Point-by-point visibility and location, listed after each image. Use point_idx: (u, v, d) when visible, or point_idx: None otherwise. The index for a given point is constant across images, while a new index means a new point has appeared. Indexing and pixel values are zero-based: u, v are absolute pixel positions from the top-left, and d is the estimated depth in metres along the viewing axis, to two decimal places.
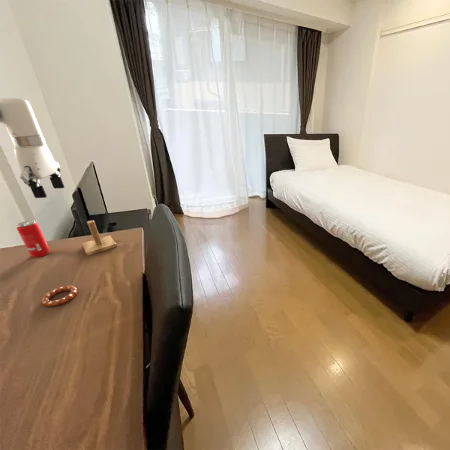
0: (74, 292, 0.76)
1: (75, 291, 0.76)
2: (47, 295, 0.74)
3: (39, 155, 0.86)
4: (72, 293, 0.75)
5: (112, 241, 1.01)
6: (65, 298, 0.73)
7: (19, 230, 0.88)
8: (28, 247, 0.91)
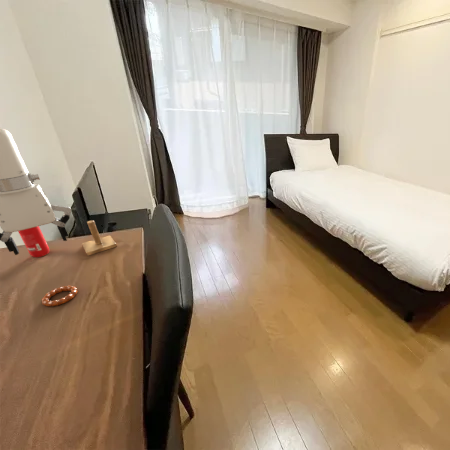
0: (74, 292, 0.76)
1: (75, 291, 0.76)
2: (47, 295, 0.74)
3: (10, 204, 0.63)
4: (72, 293, 0.75)
5: (112, 241, 1.01)
6: (65, 298, 0.73)
7: None
8: (28, 247, 0.91)
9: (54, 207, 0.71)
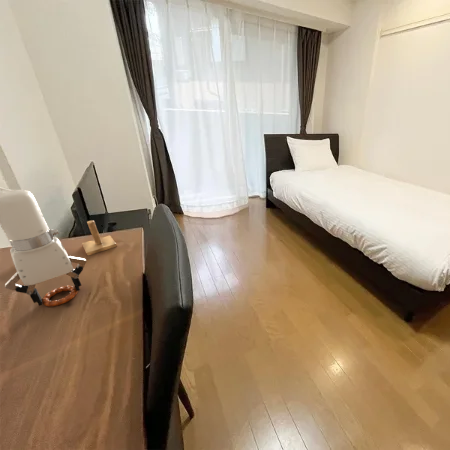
0: (74, 292, 0.76)
1: (75, 291, 0.76)
2: (47, 295, 0.74)
3: (31, 260, 0.66)
4: (72, 293, 0.75)
5: (112, 241, 1.01)
6: (65, 298, 0.73)
7: None
8: None
9: (71, 259, 0.74)
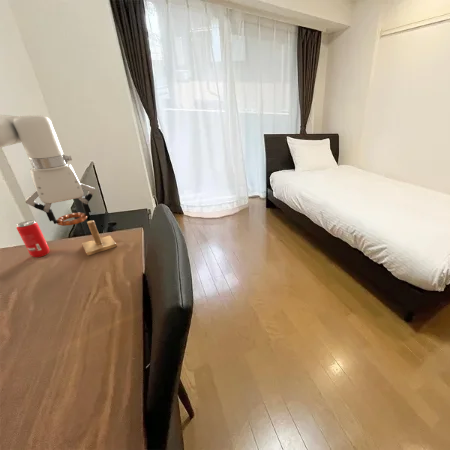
0: (84, 216, 0.85)
1: (85, 216, 0.86)
2: (61, 217, 0.84)
3: (48, 179, 0.76)
4: (82, 217, 0.85)
5: (112, 241, 1.01)
6: (76, 219, 0.83)
7: (19, 230, 0.88)
8: (28, 247, 0.91)
9: (82, 185, 0.83)
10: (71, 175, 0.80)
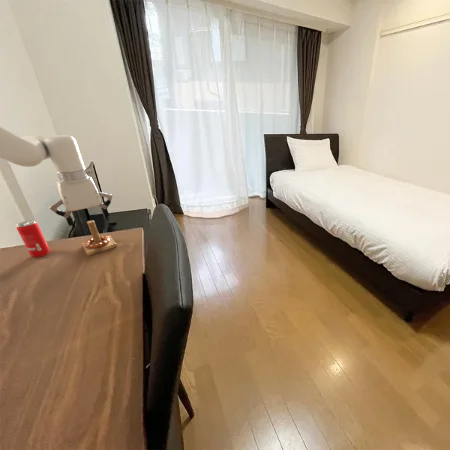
0: (108, 239, 1.00)
1: (108, 239, 1.00)
2: (88, 241, 0.98)
3: (72, 190, 0.87)
4: (106, 240, 0.99)
5: (112, 241, 1.01)
6: (102, 243, 0.97)
7: (19, 230, 0.88)
8: (28, 247, 0.91)
9: (100, 194, 0.95)
10: (92, 186, 0.91)
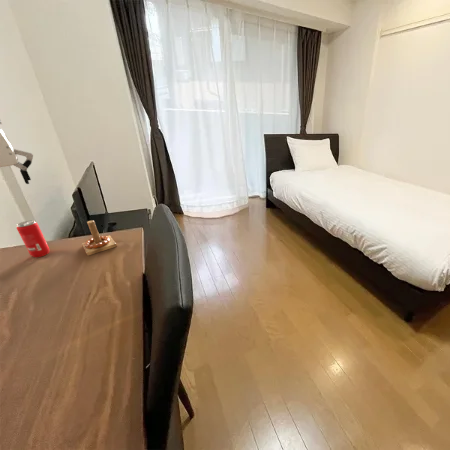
0: (108, 239, 1.00)
1: (108, 239, 1.00)
2: (88, 241, 0.98)
3: None
4: (106, 240, 0.99)
5: (112, 241, 1.01)
6: (102, 243, 0.97)
7: (19, 230, 0.88)
8: (28, 247, 0.91)
9: (16, 151, 0.79)
10: (1, 140, 0.75)
